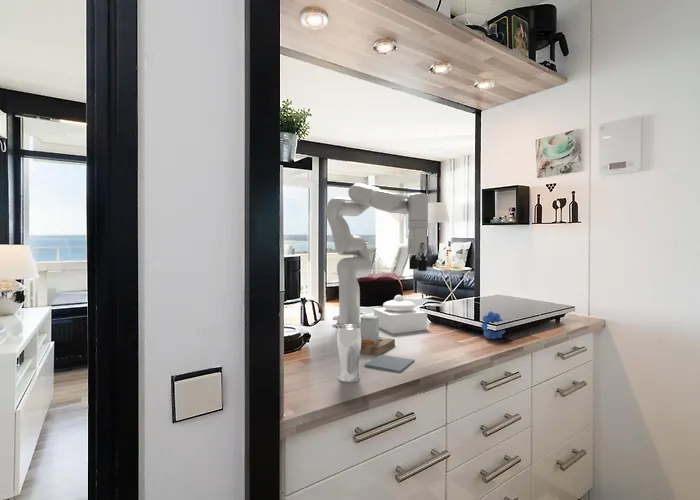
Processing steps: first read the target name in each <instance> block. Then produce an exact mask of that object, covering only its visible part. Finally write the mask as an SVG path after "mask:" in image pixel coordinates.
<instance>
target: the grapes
mask: <svg viewBox="0 0 700 500" xmlns="http://www.w3.org/2000/svg"><path fill="white" fill-rule="evenodd" d="M482 320H483V323H482V324H481V325H480V326H481V329H482V330H483V335H484V337H485V338H488V339H490V340H496V339H501V338H502V337H503V336H502V335H503V334H504V333H505V332H506V330H503V331H502V330H501V331H498V332H494V331H491V330H488V329H487V327H488V326H487V323H489V322H491V323H494V322H499V321H504V320H503V319H502V318H501V315H500V314H499V312H493V311H489V312H488V313H487V315H483V317H482Z"/></svg>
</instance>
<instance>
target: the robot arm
mask: <svg viewBox="0 0 700 500" xmlns="http://www.w3.org/2000/svg"><path fill="white" fill-rule="evenodd" d="M347 194H348V197H346V196H344V197H343V196H336V197H335V196H334V197H333V198H331V199H329V201H327V204H326V208H325V214H326V219H327V221H328V225H329V226H330V231H331V235H332V239H333V243H334V248H335V251H336V253H337V254H338V255H339V256H350V257H343V258H341V259H340V260H338V262H337V264H336V265H337V266H336V272H337V277H338V298H339V299H338V300H339V301H338V302H339V303H338V305H339V306H338V308H339V309H338V311H339V312H338V315H336V314H335V315H334V314H333V317H332V320H333V321H336V322H335V327H337V328H338V326H339V325H344V324H354V325H359V326H360V318H361V316H360V315H361V314H360V313H361V305H360V303H361V301H360V299H361V295H360V294H361V290H360V284H359V281H358V279H357V278H364V277H368V276H369V275H370V274H371V272H372V269H373V268H372V262H371V256H370V254H369V249H368V245H367V242H366V241H365V239H364V238H363V237H362V236H360V235H352V233H351V230H350V226H349V224H348V222H347V221H346V219H345V218H344V217H343V216H345V217H346V216H347V217H358V216H360V215H362V214H363V213H364V212H365V211H367V210H368V209H369V208H370V207H371V208H373V209H377V210H380V211H383V212H387V213H391V214H402V215H407V218H408V220H407V229H408V235H407V236H408V237H407V249H406V250H407V252H406V253H407V254H408V255H409V257H408V258H409V260H408V262H409V265H408V266H409V270H417V271H418V272H426V271H427V269H428V268H427V267H428V265H427V262H428V261H427V260H428V251H429V250H428V231H427V230H429V196H428V194H427V193H425V192H424V193H423V192H413V193H409V195H407V194H402V193H401V194H400V193H394V192H390V191H389V192H388V191H384V190H383V189H382V188H380V187H376V186H373V185H372V184H371V185H369V184H363V183H354V184H353V185H351V186H350V187H349V188H348V192H347ZM351 256H352V257H351Z"/></svg>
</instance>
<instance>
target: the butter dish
mask: <svg viewBox="0 0 700 500" xmlns="http://www.w3.org/2000/svg"><path fill="white" fill-rule="evenodd" d="M416 308H417V305H416V304H415V303H414V302H413V301H410V300H406V299H405V298H404V296H403V295H401V294H397V295H395V296H394V298H393V299H391V300H387V301H385V302H383V304H382V307H377V308H372V311H373V316H379V329H382V330H383V331H385V332H388V333H390V334H399V333H407V332H408V333H409V332H416V331H423V330H425V331H426V330H428V314H427V313H426V312H425V311H422V310H419V309H416Z"/></svg>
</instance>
